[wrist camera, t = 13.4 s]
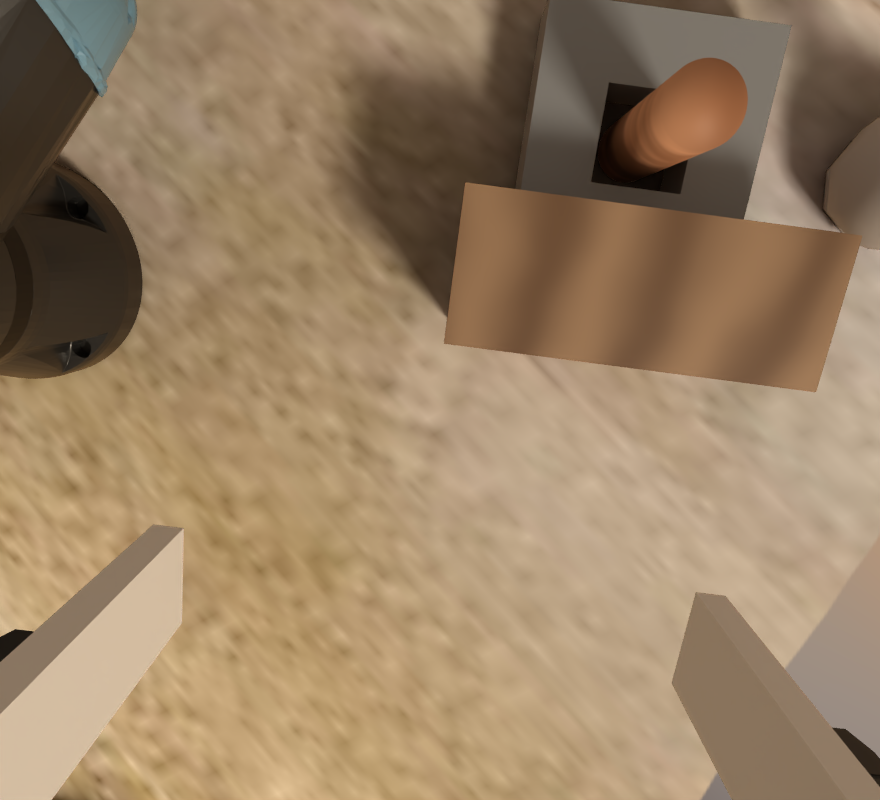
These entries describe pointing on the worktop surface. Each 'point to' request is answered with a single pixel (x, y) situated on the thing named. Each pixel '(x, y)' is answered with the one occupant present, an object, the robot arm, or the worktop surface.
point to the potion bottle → (856, 187)
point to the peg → (676, 121)
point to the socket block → (641, 98)
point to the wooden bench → (646, 287)
